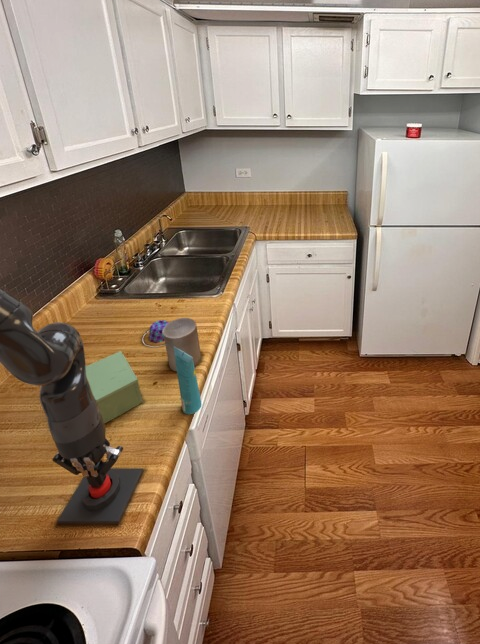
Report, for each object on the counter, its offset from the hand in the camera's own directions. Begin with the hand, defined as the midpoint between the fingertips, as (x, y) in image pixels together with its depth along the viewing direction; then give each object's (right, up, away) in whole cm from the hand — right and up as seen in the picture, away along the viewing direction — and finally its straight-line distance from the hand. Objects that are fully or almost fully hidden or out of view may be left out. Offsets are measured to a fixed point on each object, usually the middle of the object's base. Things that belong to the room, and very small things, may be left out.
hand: (99, 483), depth 68 cm
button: (0, -2, +1) cm, 2 cm away
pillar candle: (+3, +9, +38) cm, 39 cm away
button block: (0, -5, +2) cm, 5 cm away
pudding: (-10, +14, +49) cm, 52 cm away
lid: (-12, +12, +21) cm, 27 cm away
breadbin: (-12, +4, +24) cm, 27 cm away
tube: (+11, +3, +23) cm, 25 cm away
